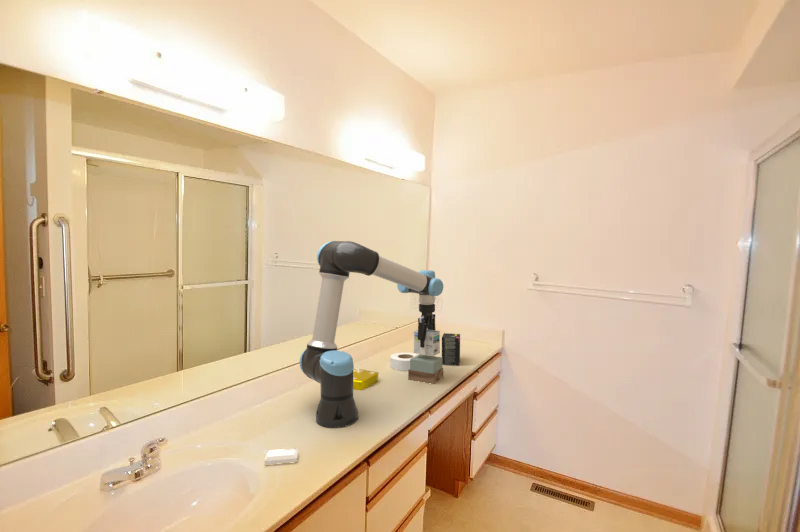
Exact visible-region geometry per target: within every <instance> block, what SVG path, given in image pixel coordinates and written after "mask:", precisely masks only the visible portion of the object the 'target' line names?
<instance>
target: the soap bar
mask: <svg viewBox="0 0 800 532" xmlns="http://www.w3.org/2000/svg"><path fill="white" fill-rule="evenodd" d="M297 458H299V449H298V448H296V447H292V448H281V449H269V450H268V451H266V454H265V458H264V461H263V462H264V465H268V464H277V463H290V462H297V463H298V460H297ZM264 465H263V466H264Z"/></svg>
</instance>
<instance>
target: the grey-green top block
mask: <svg viewBox="0 0 800 532" xmlns="http://www.w3.org/2000/svg"><path fill="white" fill-rule="evenodd" d="M442 368H443V365H442V356H441V357H440V356H437V355H435V356H429V355H423V354H418V355H417V356H415V357H413V358H411V359H410V370H414V371H420V372H425V373H431V374H434V373H436V372H437V371H439V370H440V369H442Z"/></svg>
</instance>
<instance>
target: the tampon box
mask: <svg viewBox="0 0 800 532" xmlns="http://www.w3.org/2000/svg"><path fill="white" fill-rule="evenodd" d="M441 357H442V366H443V365H446V366H455V367H458V366H460V363H461V333H446V332H444V333H443V334H442V337H441Z"/></svg>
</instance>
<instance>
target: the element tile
mask: <svg viewBox="0 0 800 532" xmlns="http://www.w3.org/2000/svg"><path fill="white" fill-rule="evenodd" d="M378 382H379V372H378V371H374V370H367V369H361V368H357V367H356V368H355V367H354V369H353V390H357V391H364V390H366V389H368V388H369V387H371V386H373V385H375V384H376V383H378Z"/></svg>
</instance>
